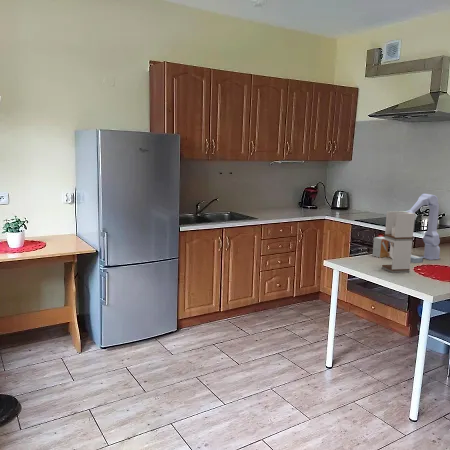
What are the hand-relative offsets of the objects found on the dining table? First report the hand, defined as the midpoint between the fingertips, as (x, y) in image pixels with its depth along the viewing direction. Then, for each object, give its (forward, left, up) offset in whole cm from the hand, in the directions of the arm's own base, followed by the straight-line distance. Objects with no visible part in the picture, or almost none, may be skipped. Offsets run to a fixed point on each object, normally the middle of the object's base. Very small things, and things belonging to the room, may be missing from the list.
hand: (397, 257), depth 288 cm
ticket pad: (-7, +5, -1) cm, 9 cm away
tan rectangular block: (-1, -5, -1) cm, 5 cm away
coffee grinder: (+22, +22, -2) cm, 31 cm away
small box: (+6, -10, -2) cm, 12 cm away
